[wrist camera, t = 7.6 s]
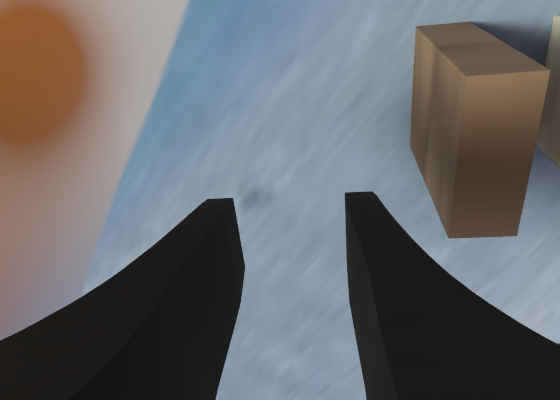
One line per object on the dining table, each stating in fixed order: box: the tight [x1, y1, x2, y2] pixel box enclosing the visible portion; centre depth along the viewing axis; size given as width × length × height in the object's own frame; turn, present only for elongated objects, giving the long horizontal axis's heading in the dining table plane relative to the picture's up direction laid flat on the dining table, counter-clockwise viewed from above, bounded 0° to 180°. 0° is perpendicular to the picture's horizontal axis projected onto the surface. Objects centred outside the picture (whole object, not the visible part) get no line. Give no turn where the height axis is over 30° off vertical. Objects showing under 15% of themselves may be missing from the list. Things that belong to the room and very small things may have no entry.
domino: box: [410, 22, 550, 238], centre depth 15 cm, size 5×2×7 cm, turn 6°
